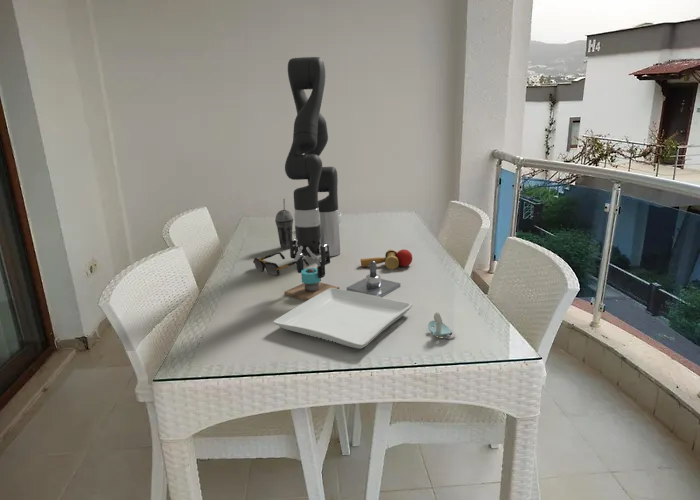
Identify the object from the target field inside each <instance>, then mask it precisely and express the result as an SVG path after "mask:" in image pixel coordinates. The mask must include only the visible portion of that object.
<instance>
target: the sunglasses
mask: <svg viewBox="0 0 700 500" xmlns="http://www.w3.org/2000/svg"><path fill="white" fill-rule="evenodd" d="M276 255H279V256H280V257H281V259H282V260H285V259H286V258H285V256H284V255H283V253H281V252H275V253H272V254H269V255H265V256H261V257H259V258H258V257H254V259H253V260H252V262H253V264H254V267H255V269H256V270H258V271H260V272H264V271H265V270H266V272H267V273H268V274H269V275H273V276H276V277H277V276H280V270H283V269H286V268H289V267H291V266H293V265H296V261H295V260H294V261H292V262H289V263H287V264H284V265H282V266H279V264H277V263H275V262H270V261H267V259H269V258H272V257H273V256H276ZM302 260H303V263H304V264H305V265H306V266H307V267H310V263H309V262H308V261H307V260H306V259H304V258H303V259H302Z"/></svg>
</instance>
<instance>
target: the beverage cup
mask: <svg viewBox="0 0 700 500" xmlns="http://www.w3.org/2000/svg"><path fill="white" fill-rule="evenodd" d="M285 200H286V199H285V198H283V209H281V210H278V212H277V213H276V216H275V221H274V222H275V224H276V229H277V235H278V241H279V246H280V249H281V250H290V240H293V224H294V216H293V214H292V212H290V211H289V210H286V204H285V203H286V201H285Z"/></svg>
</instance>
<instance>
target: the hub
mask: <svg viewBox="0 0 700 500" xmlns="http://www.w3.org/2000/svg"><path fill="white" fill-rule="evenodd" d="M400 287H401V282H398V281H397V282H396V281H393V280H388V279H384V278H381V274H377V264H376V262H375V261H371V262H370V266H369V274H367V275H366V277H365V278H363V279H361V280H359V281H357V282H355V283H353V284H351V285H349V286H347V287H346V290H347V291H353V292H359V293H364V294H369V295H373V296H378V297H384V296H386V295H387V294H390V293H391V292H393V291H395V290H396V289H398V288H400Z"/></svg>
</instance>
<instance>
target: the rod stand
mask: <svg viewBox="0 0 700 500" xmlns="http://www.w3.org/2000/svg"><path fill="white" fill-rule="evenodd" d="M310 268H311V269H308V270H307V271H308V273H314V269H312V268H313V267H310ZM329 288H336V289H340V287H339V286H336V285H332V284H328V283H324V282H321V281H320V282H318V283H314V284H306V283H302V284H299V285H297V286H295V287H291V288H289V289H287V290H285V291H284V295H285V296H287V297H291V298H295V299H297V300H301V301H304V302H306V301H308V300H309V299H311V298H313V297H315V296H316V295H318V294H320V293H322V292H324V291H326V290H327V289H329Z"/></svg>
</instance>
